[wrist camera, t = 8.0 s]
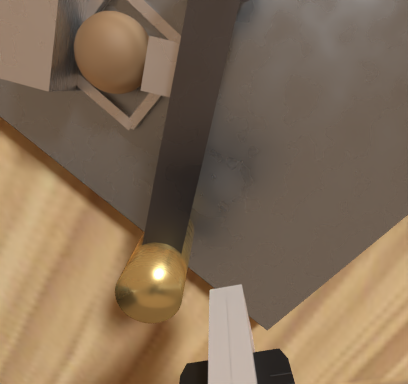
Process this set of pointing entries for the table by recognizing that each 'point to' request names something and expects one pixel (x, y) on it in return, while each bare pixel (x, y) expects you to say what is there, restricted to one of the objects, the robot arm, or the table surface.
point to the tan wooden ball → (111, 51)
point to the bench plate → (238, 133)
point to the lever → (177, 156)
